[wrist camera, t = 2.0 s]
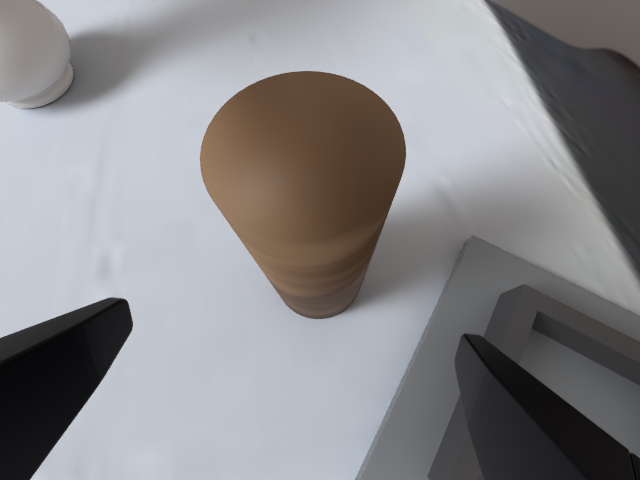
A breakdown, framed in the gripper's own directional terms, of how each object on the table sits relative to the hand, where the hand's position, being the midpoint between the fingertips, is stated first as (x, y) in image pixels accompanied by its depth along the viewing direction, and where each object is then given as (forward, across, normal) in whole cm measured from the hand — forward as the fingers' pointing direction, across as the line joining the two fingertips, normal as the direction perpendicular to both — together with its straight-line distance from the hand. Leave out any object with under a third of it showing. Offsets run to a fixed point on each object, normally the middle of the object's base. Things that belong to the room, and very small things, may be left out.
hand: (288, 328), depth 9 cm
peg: (+11, 0, +5) cm, 12 cm away
